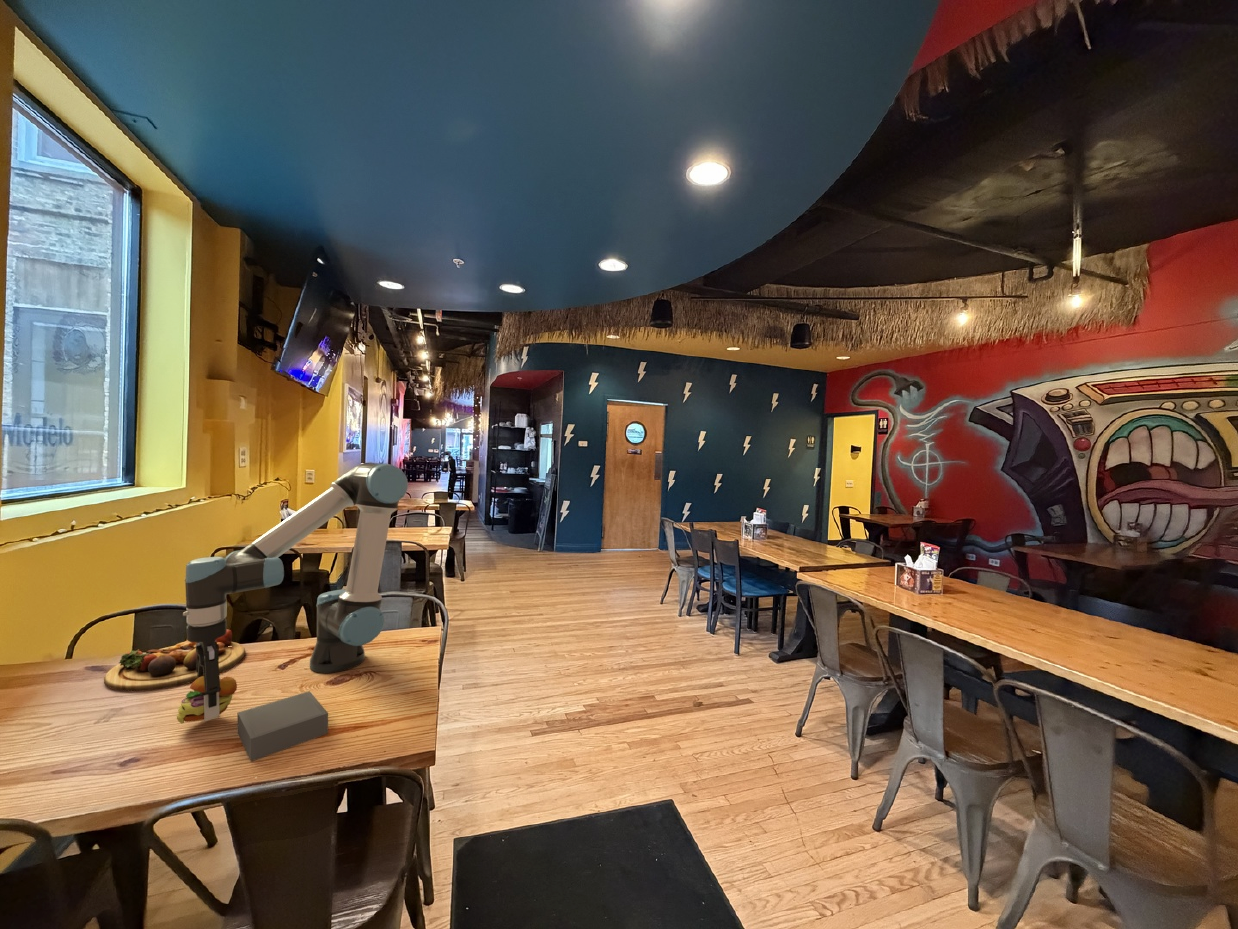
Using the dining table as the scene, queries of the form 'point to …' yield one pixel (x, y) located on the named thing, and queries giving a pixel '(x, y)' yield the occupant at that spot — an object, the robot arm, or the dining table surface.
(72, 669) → the dining table surface
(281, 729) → the tray
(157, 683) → the wooden plate with food
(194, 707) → the cheeseburger
